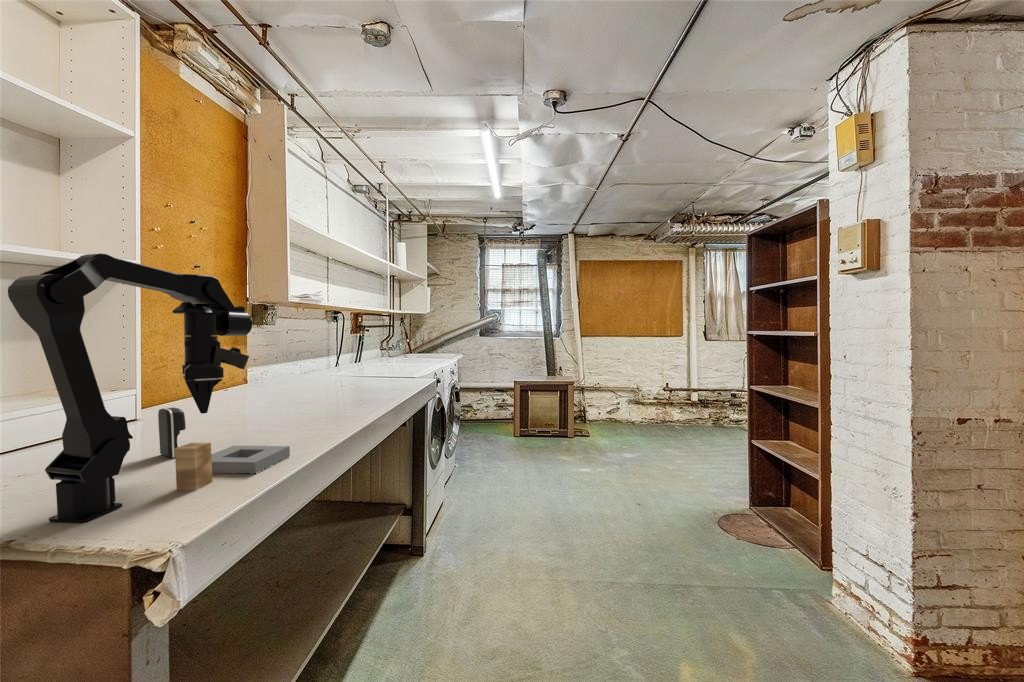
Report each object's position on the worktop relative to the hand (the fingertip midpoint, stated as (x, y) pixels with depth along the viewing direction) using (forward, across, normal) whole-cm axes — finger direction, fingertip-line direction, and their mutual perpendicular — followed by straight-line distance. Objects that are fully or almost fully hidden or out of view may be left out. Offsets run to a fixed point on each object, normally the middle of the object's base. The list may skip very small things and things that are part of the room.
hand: (202, 410), depth 93 cm
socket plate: (+13, +1, -8) cm, 15 cm away
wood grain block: (+14, -8, +2) cm, 16 cm away
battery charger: (+13, +21, +5) cm, 25 cm away
